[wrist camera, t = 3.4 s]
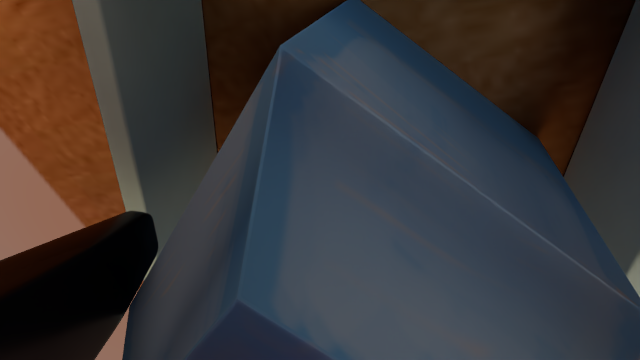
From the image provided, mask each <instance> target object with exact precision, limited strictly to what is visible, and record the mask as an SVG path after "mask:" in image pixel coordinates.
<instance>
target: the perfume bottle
mask: <svg viewBox="0 0 640 360" xmlns="http://www.w3.org/2000/svg"><path fill="white" fill-rule="evenodd" d="M122 360H640V297H639V295H638V294H637V292H636V290H635V289H634V287H633V286H632V284H631V283H630V281H629V280H628V278H627V276H626V275H625V273H624V272H623V270H622V269H621V267H620V265H619V264H618V262H617V261H616V259H615V258H614V256H613V254H612V253H611V251H610V250H609V248H608V247H607V245H606V243H605V242H604V240H603V239H602V237H601V236H600V234H599V233H598V231H597V229H596V228H595V226H594V225H593V223H592V222H591V220H590V218H589V217H588V215H587V214H586V212H585V211H584V209H583V207H582V206H581V204H580V203H579V201H578V200H577V198H576V196H575V195H574V193H573V192H572V190H571V189H570V187H569V186H568V184H567V182H566V181H565V179H564V178H563V176H562V175H561V173H560V171H559V170H558V168H557V167H556V165H555V164H554V162H553V160H552V159H551V157H550V156H549V154H548V153H547V151H546V149H545V148H544V146H543V145H542V143H541V142H540V140H539V139H538V138H537V137H536V136H535V135H533V134H532V133H531V132H529V131H528V130H527V129H526V128H524V127H523V126H522V125H520V124H519V123H518V122H517V121H515V120H514V119H513V118H511V117H510V116H509V115H508V114H506V113H505V112H504V111H502V110H501V109H500V108H498V107H497V106H496V105H495V104H493V103H492V102H491V101H489V100H488V99H487V98H486V97H484V96H483V95H482V94H480V93H479V92H478V91H476V90H475V89H474V88H473V87H471V86H470V85H469V84H467V83H466V82H465V81H464V80H462V79H461V78H460V77H458V76H457V75H456V74H455V73H453V72H452V71H451V70H449V69H448V68H447V67H445V66H444V65H443V64H442V63H440V62H439V61H438V60H436V59H435V58H434V57H433V56H431V55H430V54H429V53H427V52H426V51H425V50H423V49H422V48H421V47H420V46H418V45H417V44H416V43H414V42H413V41H412V40H411V39H409V38H408V37H407V36H405V35H404V34H403V33H402V32H400V31H399V30H398V29H396V28H395V27H394V26H392V25H391V24H390V23H389V22H387V21H386V20H385V19H383V18H382V17H381V16H380V15H378V14H377V13H376V12H374V11H373V10H372V9H371V8H369V7H368V6H367V5H365V4H364V3H363V2H361V1H360V0H347V1H345V2H344V3H342V4H341V5H339V6H338V7H336V8H335V9H333V10H332V11H330V12H329V13H327V14H326V15H324V16H323V17H321V18H320V19H318V20H317V21H315V22H314V23H312V24H311V25H309V26H308V27H307V28H305V29H304V30H302V31H301V32H299V33H298V34H296V35H295V36H293V37H292V38H290V39H289V40H287V41H286V42H284V43H283V44H281V45H280V47H279V48H278V50H277V52H276V54H275V55H274V57H273V59H272V60H271V62H270V64H269V66H268V67H267V69H266V71H265V73H264V74H263V76H262V78H261V80H260V81H259V83H258V85H257V86H256V88H255V90H254V92H253V93H252V95H251V97H250V99H249V100H248V102H247V104H246V105H245V107H244V109H243V111H242V112H241V114H240V116H239V118H238V119H237V121H236V123H235V125H234V126H233V128H232V130H231V131H230V133H229V135H228V137H227V138H226V140H225V142H224V144H223V145H222V147H221V149H220V150H219V152H218V154H217V156H216V157H215V159H214V161H213V163H212V164H211V166H210V168H209V170H208V171H207V173H206V175H205V176H204V178H203V180H202V182H201V183H200V185H199V187H198V189H197V190H196V192H195V194H194V195H193V197H192V199H191V201H190V202H189V204H188V206H187V208H186V209H185V211H184V213H183V215H182V216H181V218H180V220H179V221H178V223H177V225H176V227H175V228H174V230H173V232H172V234H171V235H170V237H169V239H168V241H167V242H166V244H165V246H164V247H163V249H162V251H161V253H160V254H159V256H158V258H157V260H156V261H155V263H154V265H153V266H152V268H151V270H150V272H149V273H148V275H147V277H146V279H145V280H144V282H143V284H142V286H141V287H140V289H139V291H138V292H137V294H136V296H135V298H134V299H133V301H132V303H131V305H130V307H129V315H128V322H127V329H126V337H125V344H124V352H123V359H122Z"/></svg>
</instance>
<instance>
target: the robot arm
mask: <svg viewBox="0 0 640 360" xmlns="http://www.w3.org/2000/svg"><path fill="white" fill-rule="evenodd" d="M157 252H158V239H157V235H156V230H155V225H154V221H153V217H152V216H151V215H150V214H149V213H145V212H140V211H127V212H125V213H122V214H119V215H117V216H114V217H112V218H109V219H107V220H104V221H101V222H99V223H96V224H94V225H91V226H88V227H86V228H83V229H81V230H78V231H75V232H73V233H70V234H68V235H65V236H62V237H60V238H57V239H55V240H52V241H50V242H47V243H45V244H42V245H39V246H37V247H34V248H32V249H29V250H26V251H24V252H21V253H18V254H16V255H13V256H11V257H8V258H5V259H3V260H0V360H95V358H96V357H97V355H98V354H99V352H100V351H101V349H102V348H103V346H104V345H105V343H106V342H107V341H108V339H109V337H110V336H111V335H112V333H113V331H114V330H115V329H116V327H117V325H118V324H119V322H120V321H121V319H122V318H123V316H124V314H125V312H126V311H127V309H128V307H129V305H130V303H131V301H132V300H133V298H134V296H135V294H136V292H137V291H138V289H139V287H140V285H141V283H142V281H143V279H144V278H145V276H146V274H147V272H148V270H149V268H150V266H151V265H152V263H153V261H154V259H155V257H156V255H157Z"/></svg>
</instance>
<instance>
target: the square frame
mask: <svg viewBox="0 0 640 360" xmlns="http://www.w3.org/2000/svg"><path fill="white" fill-rule="evenodd" d="M72 2H73V6H74V10H75V14H76V18H77V22H78V26H79V30H80V34H81V38H82V41H83V45H84V49H85V53H86V57H87V61H88V65H89V69H90V73H91V77H92V81H93V84H94V88H95V92H96V96H97V100H98V104H99V108H100V112H101V116H102V120H103V124H104V127H105V131H106V135H107V139H108V143H109V147H110V151H111V155H112V159H113V163H114V167H115V170H116V174H117V178H118V182H119V186H120V190H121V194H122V198H123V202H124V206H125V210H126V212H127V211H140V212H145V213H149V214H150V215H151V216H152V217H153V221H154V225H155V230H156V235H157V239H158V252H157V255H156V257H155V259H154V261H153V263H152V265H151V266H150V268H149V270H148V272H147V274H146V276H145V278H144V279H143V280H145V279H146V277H147V275H148V273H149V272H150V270H151V268H152V266H153V265H154V263H155V261H156V260H157V258H158V256H159V254H160V253H161V251H162V249H163V247H164V246H165V244H166V242H167V241H168V239H169V237H170V235H171V234H172V232H173V230H174V228H175V227H176V225H177V223H178V221H179V220H180V218H181V216H182V215H183V213H184V211H185V209H186V208H187V206H188V204H189V202H190V201H191V199H192V197H193V195H194V194H195V192H196V190H197V189H198V187H199V185H200V183H201V182H202V180H203V178H204V176H205V175H206V173H207V171H208V170H209V168H210V166H211V164H212V163H213V161H214V159H215V157H216V156H217V148H216V138H215V128H214V119H213V109H212V99H211V89H210V80H209V70H208V60H207V51H206V41H205V31H204V22H203V12H202V2H201V0H72ZM563 178H564V179H565V181H566V182H567V184H568V186H569V187H570V189H571V190H572V192H573V193H574V195H575V196H576V198H577V200H578V201H579V203H580V204H581V206H582V207H583V209H584V211H585V212H586V214H587V215H588V217H589V218H590V220H591V222H592V223H593V225H594V226H595V228H596V229H597V231H598V233H599V234H600V236H601V237H602V239H603V240H604V242H605V243H606V245H607V247H608V248H609V250H610V251H611V253H612V254H613V256H614V258H615V259H616V261H617V262H618V264H619V265H620V267H621V269H622V270H623V272H624V273H625V275H626V276H627V278H628V280H629V281H630V283H631V284H632V286H633V287H634V289H635V290H636V292H637V294H638V295H639V297H640V0H636V1H635V4H634V6H633V9H632V11H631V14H630V16H629V18H628V21H627V23H626V26H625V28H624V31H623V33H622V36H621V38H620V40H619V43H618V45H617V48H616V50H615V53H614V55H613V58H612V60H611V62H610V65H609V67H608V70H607V72H606V75H605V77H604V80H603V82H602V84H601V87H600V89H599V92H598V94H597V97H596V99H595V102H594V104H593V106H592V109H591V111H590V114H589V116H588V119H587V121H586V124H585V126H584V128H583V131H582V133H581V136H580V138H579V141H578V143H577V146H576V148H575V150H574V153H573V155H572V158H571V160H570V163H569V165H568V168H567V170H566V172H565V175H564V177H563Z"/></svg>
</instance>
